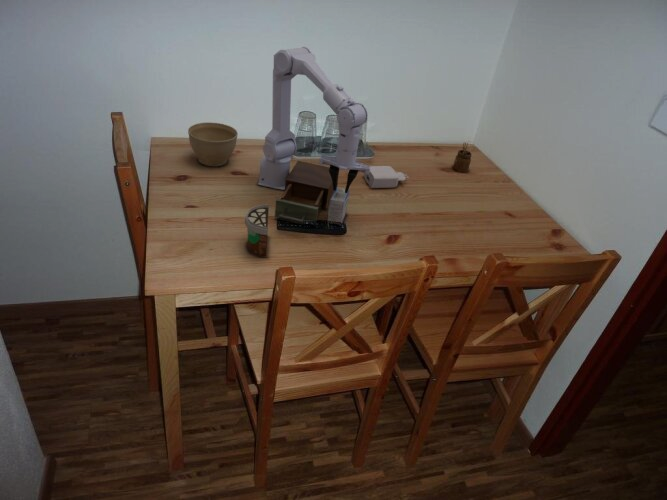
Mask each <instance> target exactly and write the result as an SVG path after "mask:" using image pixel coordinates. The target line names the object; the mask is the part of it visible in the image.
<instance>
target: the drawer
mask: <svg viewBox="0 0 667 500" xmlns="http://www.w3.org/2000/svg"><path fill="white" fill-rule="evenodd" d="M324 195H325V190H321V189H316V188H312V187H307V186H303V185H298V184H293V183H290V184H289V185H288V187H287V188H286V190H284V192H282V194H281V196H280V198H278V197H277V198H276V199H275V209H274V210H275V211H274V218H277V219H278V220H281V221H285V222H290V223H294V224H298V225H304V220H313V221H317V222H318V216H319V214H320V212H321V210H322V209H321V207H322V205H323V202H324Z"/></svg>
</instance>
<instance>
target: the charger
mask: <svg viewBox="0 0 667 500" xmlns="http://www.w3.org/2000/svg"><path fill="white" fill-rule="evenodd" d="M370 166H371V167H370V172H369V175H368V174H365V173H363V178H364V180H365V182H366V184H367V185H368V186H369V188H370V189H391V188H392V189H394V188H396V187H397V186H398V184H399V182H406V179H409V178H410V176H408V174H406V173H405V174H404V173H403V172H402V171H396V170H395V169H394V168H393V167H392V166H390V165H370Z"/></svg>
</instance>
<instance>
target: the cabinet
mask: <svg viewBox="0 0 667 500" xmlns="http://www.w3.org/2000/svg"><path fill="white" fill-rule="evenodd" d="M329 168H330V166H325V165H320V164H316V163H310V162H305V161H302V160H297V162H296V163H295V165H294V166H293V168H292V169H291V170H290V171H289V175H288V177H287V178H286V181H285V190H286V188H287V187H288V185H289V184H290V183H293V184H298V185H303V186H307V187H312V188H316V189H321V190H325V195H324V202H323V205H322V207H321V209H320V210H322V211H327V208H328V207H329V204H330V199H331V197H332V195H333V193H334V190H333V182H332V178H331V175H330V173H329ZM285 190H284V191H285Z"/></svg>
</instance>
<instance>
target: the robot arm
mask: <svg viewBox="0 0 667 500" xmlns="http://www.w3.org/2000/svg"><path fill="white" fill-rule="evenodd" d="M297 75H300V76H305V77H306V78H308V79H309V80H310V82H311V83H312V84H313V85H315V87H316V88H318V89H319V91H321V92H322V97H323V98H322V99H323V101H324V103H326V104H327V106H328V107H329V108H330V109H331V110H332V112H333V113H335V115H336V120H337V121H336V122H337V123H338V140H337V145H336V146H337V147H336V153H335V156H329V155H328V156H327V155H320V157H319V160H318V165H320V166H325V165H326V166H329V167H330V168H329V173H330V175H331V178H332V182H333V190H334V191H336V189H337V188H338V183H339V174H340V170H342V171H347V170H349V171H348V172H347V178H346V184H345V188H344V189H345V193H347V192H348V190H349V189H350V186H351V185H352V183H353V181H354V180H355V179H356V177H357V175H358V173H363V174H364V173H365V174H368V175H369V172H370V167H371V166H372V165H368V164H365V163H362V162H360V161H357V156H358V149H359V144H360V143H359V142H360V138H361V131H362V125H364V124H365V123H366V122H367V120H368V111H367V108H366V107H365V105H364V104H363V103H361V102H357V101H355V100H354V99H353V98H351V96H349V94H348V93H347V92H346V90H344V87H343V86H342V85H340V84H338V83H335V84H334V83H332V81H331V80H330V79H329V77H328V76H327V75H326V74H325V72H324V71H323V69H322V68H321V67H320V66H319V64H318V63H317V61H316V55H315V54H314V53H313V52H312V51H311V49H310V48H308V47H306V46H302V47H296V48H288V49H280V50H278V51H277V52H276V53H275V54H273V68H272V108H271V109H272V112H271V113H272V115H271V116H272V117H271V118H272V119H271V120H272V122H271V124H272V125H271V127H272V128H271V130H270V131H269V132H268V133H267V134H266V135H265V137H264V144H263V147H262V151H263V155H262V157H261V158H260V163H259V173H258V183H257V185H258V186H262V187H267V188H271V189H276V190H280V191H285V181H286V178H287V177H288V175H289V174H290V172H291V170H290V169H291V161H292V160H293V156H294V155H296V153H297V151H298V150H297V149H298V146H297V145H298V144H297V142H296V134H295V133H294V132H292V130H291V105H292V103H291V101H292V99H291V98H292V80H293V78H295V77H296V76H297ZM349 191H350V190H349Z"/></svg>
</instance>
